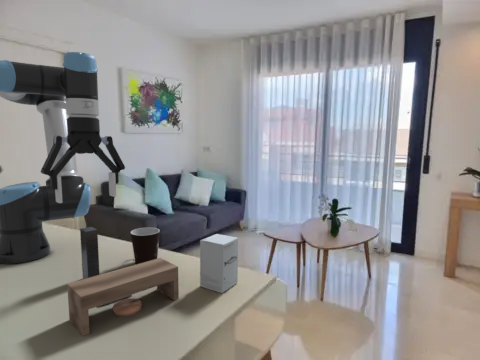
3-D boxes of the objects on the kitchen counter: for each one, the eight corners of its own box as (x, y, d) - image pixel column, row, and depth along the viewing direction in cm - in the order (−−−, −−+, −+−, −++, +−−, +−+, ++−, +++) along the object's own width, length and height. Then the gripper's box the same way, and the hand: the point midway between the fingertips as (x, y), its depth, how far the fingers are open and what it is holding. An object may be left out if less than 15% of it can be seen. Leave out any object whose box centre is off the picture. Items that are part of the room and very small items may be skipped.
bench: (69, 319, 70) (67, 283, 69) (161, 287, 86) (160, 257, 85) (83, 336, 65) (81, 297, 64) (178, 298, 80) (178, 266, 79)
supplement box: (222, 294, 83) (222, 244, 81) (199, 286, 86) (198, 239, 85) (238, 283, 89) (239, 237, 87) (216, 276, 93) (216, 232, 91)
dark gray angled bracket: (75, 280, 89) (72, 230, 88) (101, 273, 94) (98, 225, 92) (103, 305, 76) (100, 246, 75) (131, 295, 81) (129, 240, 79)
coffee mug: (152, 269, 97) (151, 236, 96) (126, 266, 99) (124, 234, 98) (169, 255, 109) (168, 225, 108) (144, 253, 110) (143, 224, 109)
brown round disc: (108, 310, 75) (108, 305, 75) (132, 300, 79) (132, 295, 79) (121, 319, 71) (121, 314, 71) (146, 309, 75) (146, 303, 75)
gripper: (30, 113, 74) (37, 207, 76) (135, 118, 91) (138, 195, 94) (22, 115, 79) (29, 203, 82) (123, 119, 96) (126, 192, 99)
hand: (87, 199), depth 88 cm, fingers open, 13 cm apart
